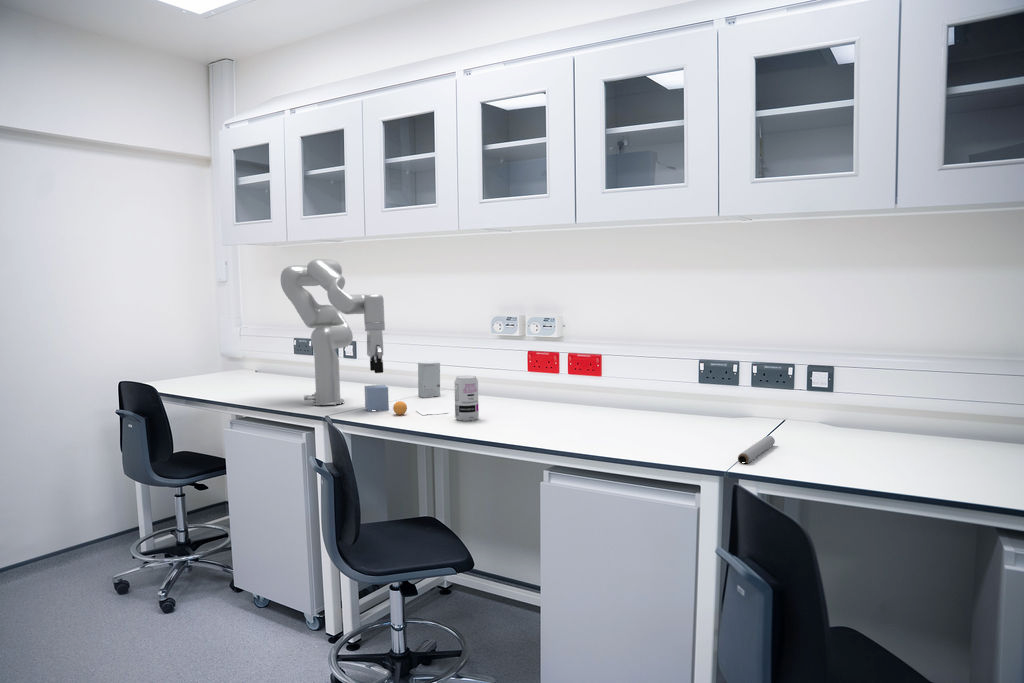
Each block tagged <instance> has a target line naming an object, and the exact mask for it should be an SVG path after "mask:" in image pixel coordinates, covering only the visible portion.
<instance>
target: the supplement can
mask: <svg viewBox="0 0 1024 683" xmlns="http://www.w3.org/2000/svg"><path fill="white" fill-rule="evenodd" d="M454 418H455V419H456V420H457V419H458V420H457V421H459V420H463V421H462V422H471V421H470V420H473V421H476V420H477V419H478V418H479V380H478V378H477V376H475V375H458V376H456V377H455V380H454Z"/></svg>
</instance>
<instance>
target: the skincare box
mask: <svg viewBox="0 0 1024 683" xmlns="http://www.w3.org/2000/svg"><path fill="white" fill-rule="evenodd" d="M417 379H418V380H417V388H418V389H417V394H418V397H420V398H422V397H423V398H422V399H426V398H425V397H429V398H433V397H432V396H440V397H441V362H439V361H438V362H437V361H420V362H418V363H417Z"/></svg>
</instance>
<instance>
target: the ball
mask: <svg viewBox="0 0 1024 683" xmlns="http://www.w3.org/2000/svg"><path fill="white" fill-rule="evenodd" d="M407 406H408V405H407V404H406V403H405V401H401V400H400V401H396V402H395V403H394V404H393V407H392V410H393V412H394V413H395V414H396V415H399V416H402V415H404V414H406V413H407V409H408V407H407Z"/></svg>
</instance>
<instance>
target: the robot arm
mask: <svg viewBox="0 0 1024 683" xmlns="http://www.w3.org/2000/svg"><path fill="white" fill-rule="evenodd" d="M342 273H343V269H342V265H341V264H340V262H338V261H337V260H334V259H323V258H321V259H320V258H319V259H318V258H316V259H312V260H311V261H309V262H308V264H307V265H302V264H301V265H289V266H287V267H285V268H283V270H282V271H281V274H280V287H281V289H282V292H283V293H284V295H285V296H286V297H287V299H288V300H289V301H290V302H291V304H292V305H293V307H294V308H295V310H296V312H297V313H298V315H299V317H300V319H301V320H302V321H303V323H304V324H305V326H306V327H307V328H309V329H313V331H312V333H311V336H310V340H311V346H312V350H313V356H314V360H313V361H314V377H315V378H314V380H315V392H314V393H313V394H311V395H308V394H307V395H305V394H304V395H303V400H304V401H311V403H312V406H315V405H333V406H336V405H335V404H340V403H343V402H344V403H345V399H343V398H341V380H340V358H339V355H338V353H337V351H336V350H335V349H343V348H344V349H345V348H347V347H349V346H350V345H351V344H352V342H353V339H354V338H353V337H354V336H353V332H352V330H351V327H350V326H349V324H348V323H347V321H346V320H345V318H344V316H343V315H344V314H345V315H363V318H364V321H363V322H364V332H366V355H367V356H368V357H369V366H370V367H369V368H370V369H369V370H370V371H371V372H372V371H373V372H374V373H375V374H382V373H384V362H383V361H384V360H383V356H384V340H383V336H384V335H383V331H385V330H386V327H385V324H386V323H385V306H384V305H385V304H384V297H383V295H382V294H357V293H356V294H348V293H346V292H344V291H343V289H344V287H345V284H346V279H345V277H344V276H343V275H342ZM317 286H320V287H321V288H322V289H324V290H325V291H326V294H327V297H328V300H329V301H328V302H329V303H330V304H319V303H318V301H316V299H315V298H314V295H312V293H310V292H309V290H307V289H305V288H304V287H317ZM342 314H343V315H342ZM344 403H343V404H344ZM340 405H341V404H340Z"/></svg>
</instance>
